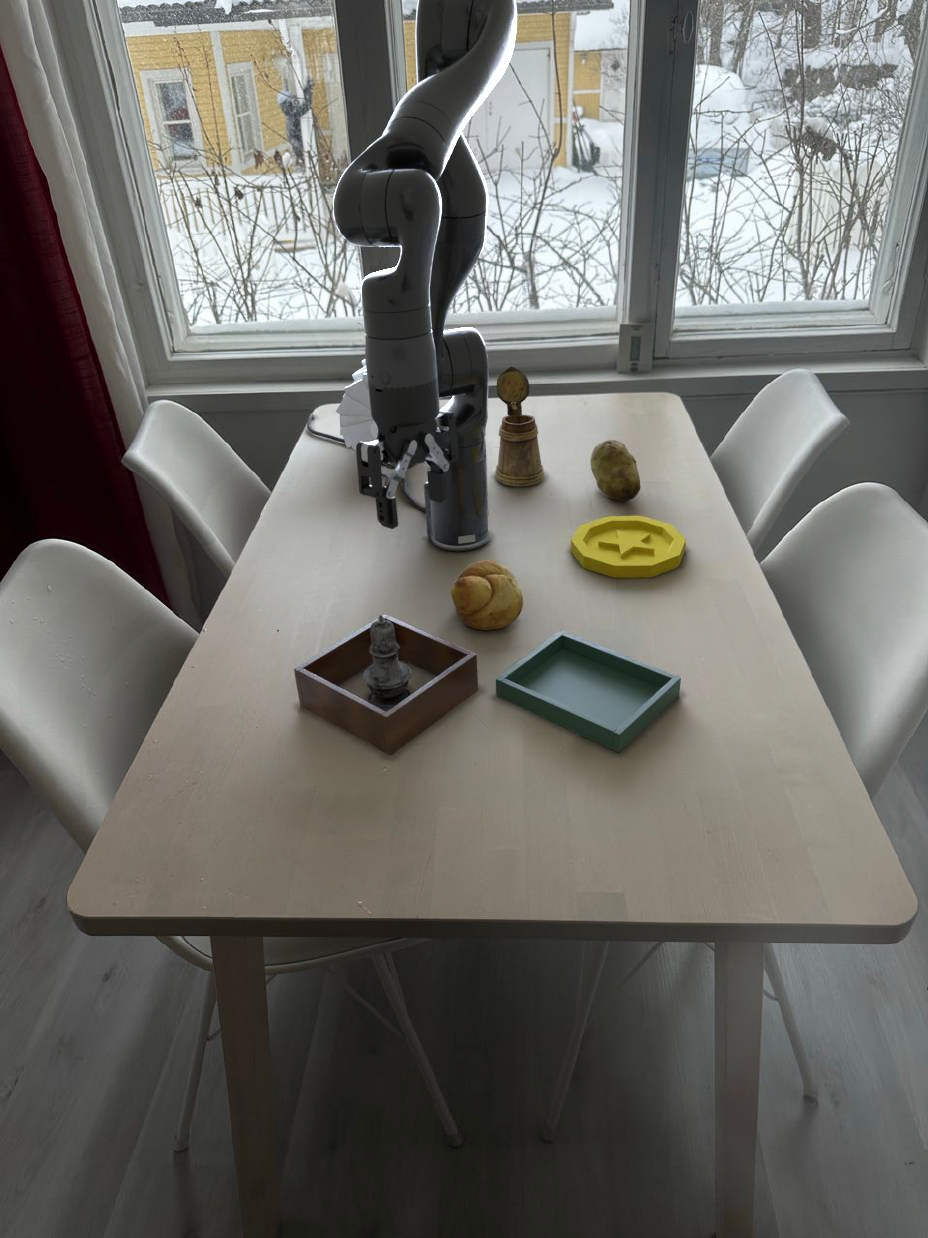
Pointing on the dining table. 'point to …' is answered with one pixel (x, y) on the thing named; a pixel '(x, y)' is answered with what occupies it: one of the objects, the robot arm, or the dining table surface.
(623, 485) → the potato
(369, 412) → the spiral staircase
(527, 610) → the dining table surface
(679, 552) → the decorative disc
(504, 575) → the bread roll
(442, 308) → the robot arm
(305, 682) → the open box
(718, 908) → the dining table surface
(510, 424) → the wooden mug
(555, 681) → the tray
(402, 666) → the salt shaker
